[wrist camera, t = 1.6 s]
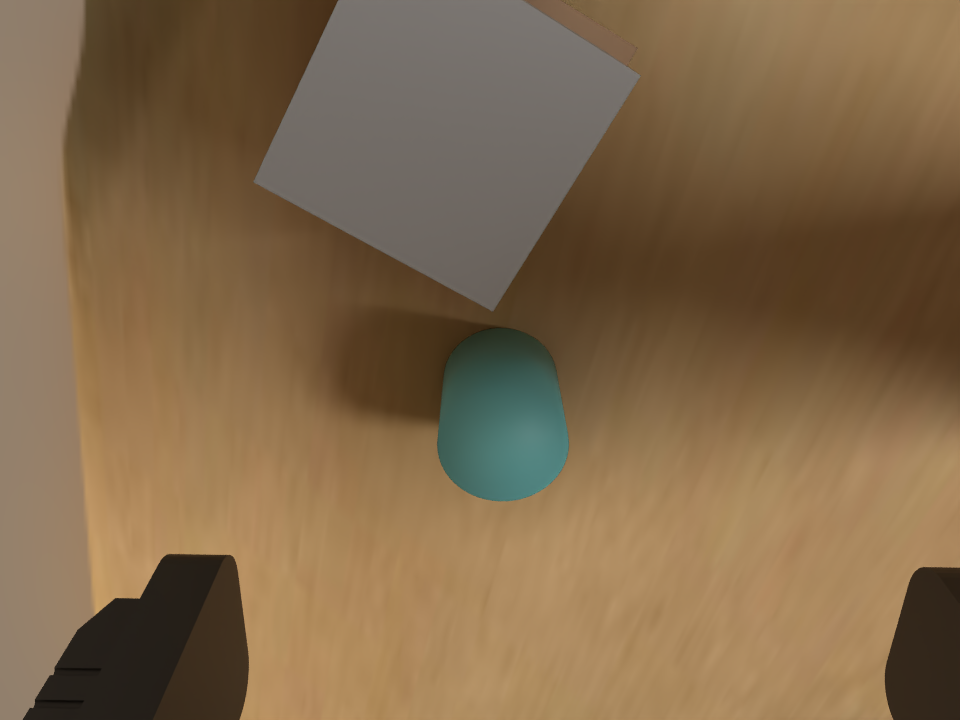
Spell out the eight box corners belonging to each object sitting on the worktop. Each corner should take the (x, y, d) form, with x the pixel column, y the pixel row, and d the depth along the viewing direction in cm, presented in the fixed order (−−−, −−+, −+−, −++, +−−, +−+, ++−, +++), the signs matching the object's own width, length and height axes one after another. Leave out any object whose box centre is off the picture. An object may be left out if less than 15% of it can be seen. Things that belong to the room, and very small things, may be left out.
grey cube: (610, 54, 24) (640, 75, 19) (490, 251, 26) (492, 311, 21) (401, -78, 22) (380, -90, 18) (295, 141, 25) (253, 182, 20)
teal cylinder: (578, 393, 33) (593, 461, 29) (484, 448, 34) (485, 521, 30) (516, 306, 32) (522, 363, 27) (421, 366, 33) (411, 430, 28)
